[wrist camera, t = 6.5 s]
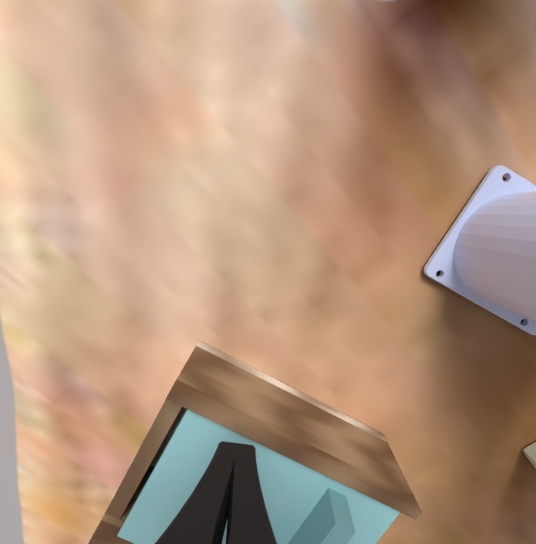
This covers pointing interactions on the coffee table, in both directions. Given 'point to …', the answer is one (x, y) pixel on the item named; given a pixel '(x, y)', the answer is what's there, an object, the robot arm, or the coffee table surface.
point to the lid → (275, 488)
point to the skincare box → (531, 453)
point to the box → (264, 434)
